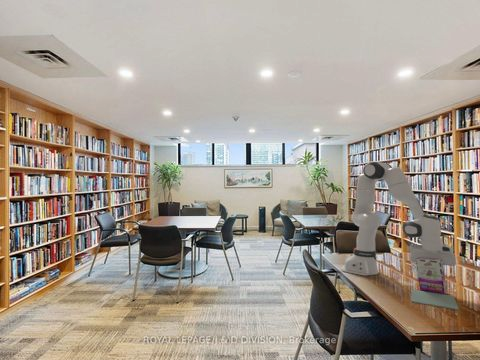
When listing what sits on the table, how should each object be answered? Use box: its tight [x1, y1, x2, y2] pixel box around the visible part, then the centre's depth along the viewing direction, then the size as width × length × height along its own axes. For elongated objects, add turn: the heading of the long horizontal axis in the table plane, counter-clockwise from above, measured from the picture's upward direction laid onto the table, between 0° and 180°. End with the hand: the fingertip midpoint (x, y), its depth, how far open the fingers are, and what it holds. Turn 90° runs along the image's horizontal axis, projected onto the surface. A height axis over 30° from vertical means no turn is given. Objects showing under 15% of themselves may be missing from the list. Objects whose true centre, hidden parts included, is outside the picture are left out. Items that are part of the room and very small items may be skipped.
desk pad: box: [410, 288, 460, 311], centre depth 135 cm, size 18×17×1 cm
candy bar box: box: [415, 258, 448, 295], centre depth 145 cm, size 11×5×16 cm, turn 42°
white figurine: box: [410, 262, 419, 281], centre depth 164 cm, size 9×4×12 cm, turn 56°
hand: (432, 272), depth 147 cm, fingers closed
